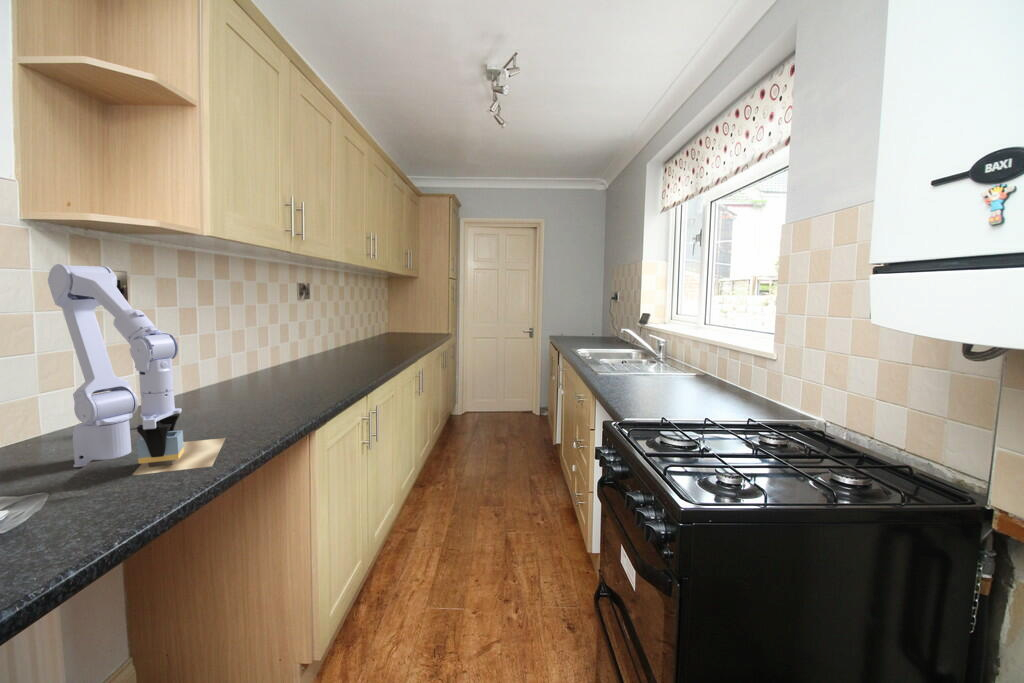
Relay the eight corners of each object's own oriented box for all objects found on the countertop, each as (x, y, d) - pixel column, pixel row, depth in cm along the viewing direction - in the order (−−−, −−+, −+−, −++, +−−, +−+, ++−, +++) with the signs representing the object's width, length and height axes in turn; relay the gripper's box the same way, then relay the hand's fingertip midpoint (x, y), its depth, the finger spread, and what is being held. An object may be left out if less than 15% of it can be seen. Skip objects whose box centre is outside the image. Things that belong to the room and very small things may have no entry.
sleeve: (178, 459, 101) (177, 436, 100) (138, 463, 98) (136, 440, 97) (183, 451, 105) (182, 430, 105) (145, 455, 102) (144, 433, 102)
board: (132, 481, 96) (130, 458, 95) (159, 449, 114) (157, 430, 113) (212, 471, 101) (211, 450, 101) (225, 442, 120) (225, 424, 119)
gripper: (171, 396, 95) (175, 461, 97) (187, 382, 108) (190, 439, 110) (127, 399, 92) (132, 465, 94) (149, 384, 105) (153, 443, 107)
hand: (161, 452), depth 101 cm, fingers closed on sleeve, 5 cm apart
